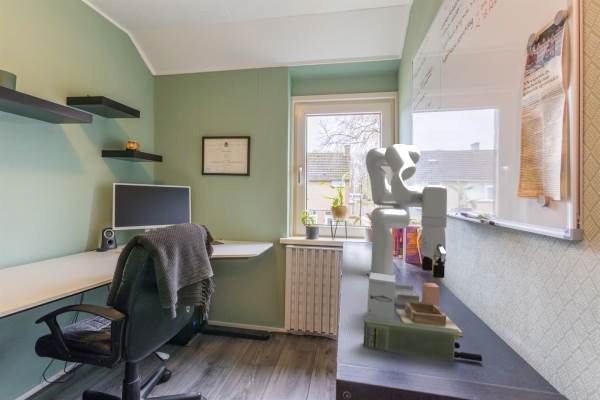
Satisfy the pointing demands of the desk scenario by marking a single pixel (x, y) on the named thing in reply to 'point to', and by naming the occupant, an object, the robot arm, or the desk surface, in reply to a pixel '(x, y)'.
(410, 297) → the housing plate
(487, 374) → the desk surface
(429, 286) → the block
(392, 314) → the supplement box
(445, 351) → the handheld radio
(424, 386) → the desk surface
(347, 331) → the desk surface
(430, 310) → the socket board
